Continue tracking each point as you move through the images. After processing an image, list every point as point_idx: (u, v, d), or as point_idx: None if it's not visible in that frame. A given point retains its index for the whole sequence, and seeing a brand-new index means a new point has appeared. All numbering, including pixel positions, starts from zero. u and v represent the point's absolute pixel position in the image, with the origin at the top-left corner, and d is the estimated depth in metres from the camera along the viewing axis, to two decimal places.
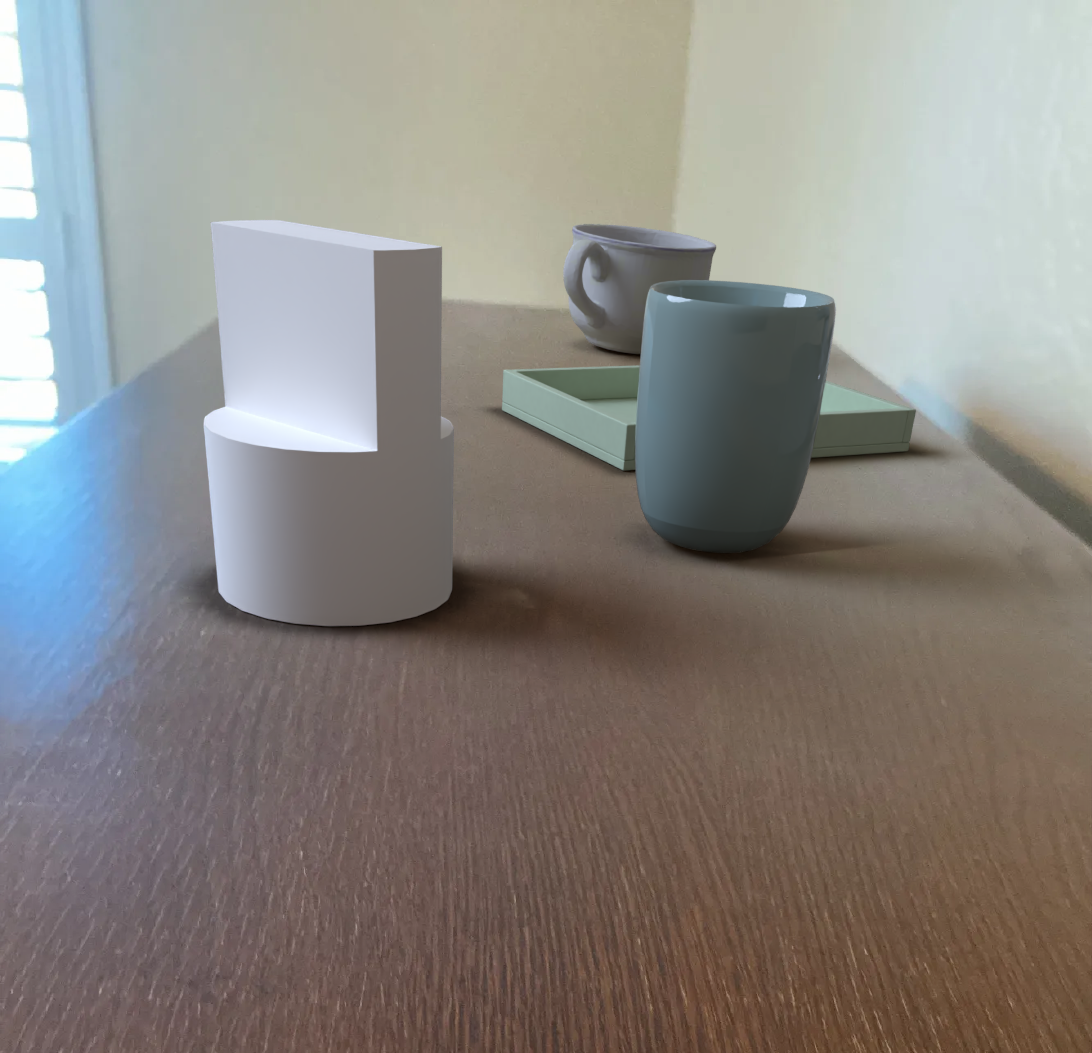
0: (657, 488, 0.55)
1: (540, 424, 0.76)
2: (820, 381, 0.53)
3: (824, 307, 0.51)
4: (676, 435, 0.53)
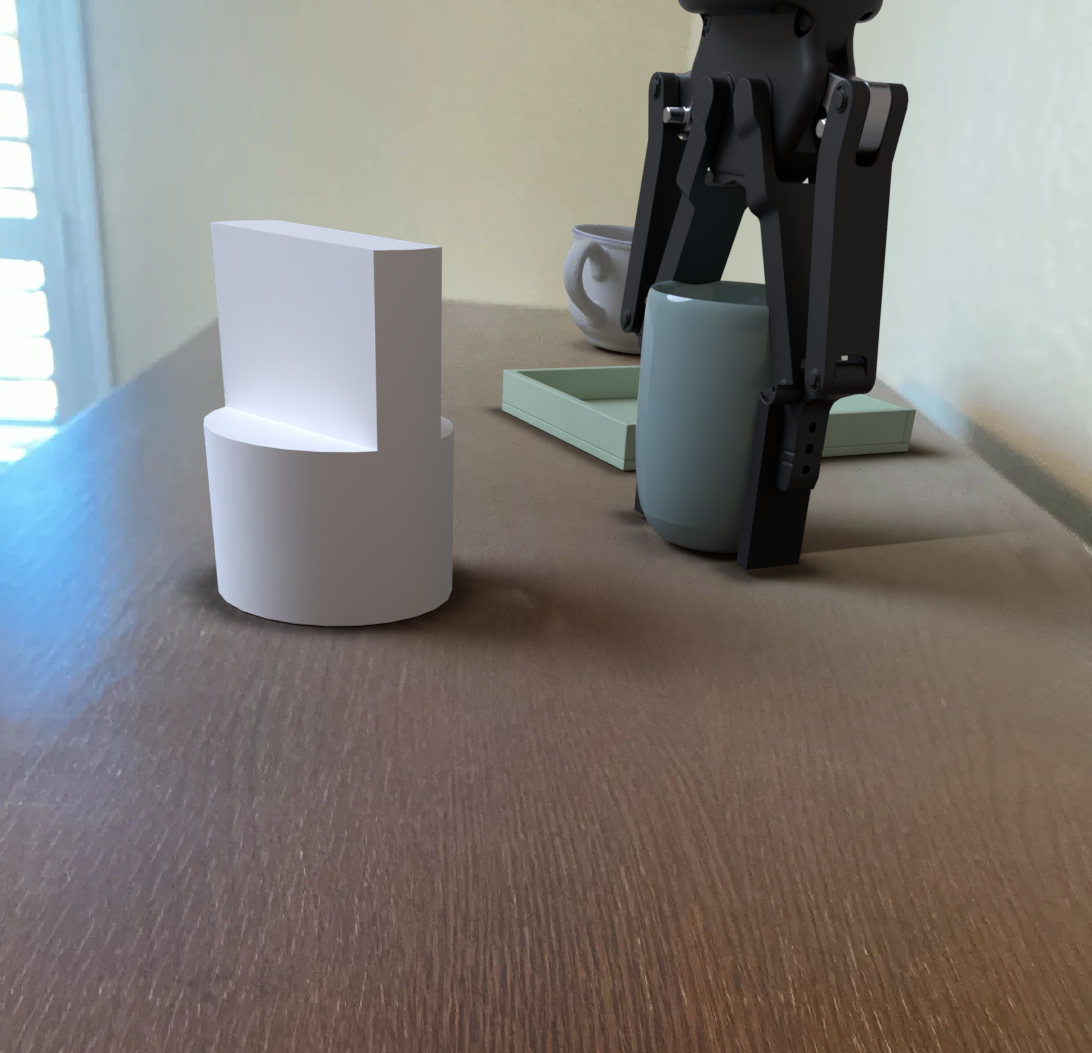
0: (658, 488, 0.55)
1: (540, 424, 0.76)
2: None
3: None
4: (676, 434, 0.53)
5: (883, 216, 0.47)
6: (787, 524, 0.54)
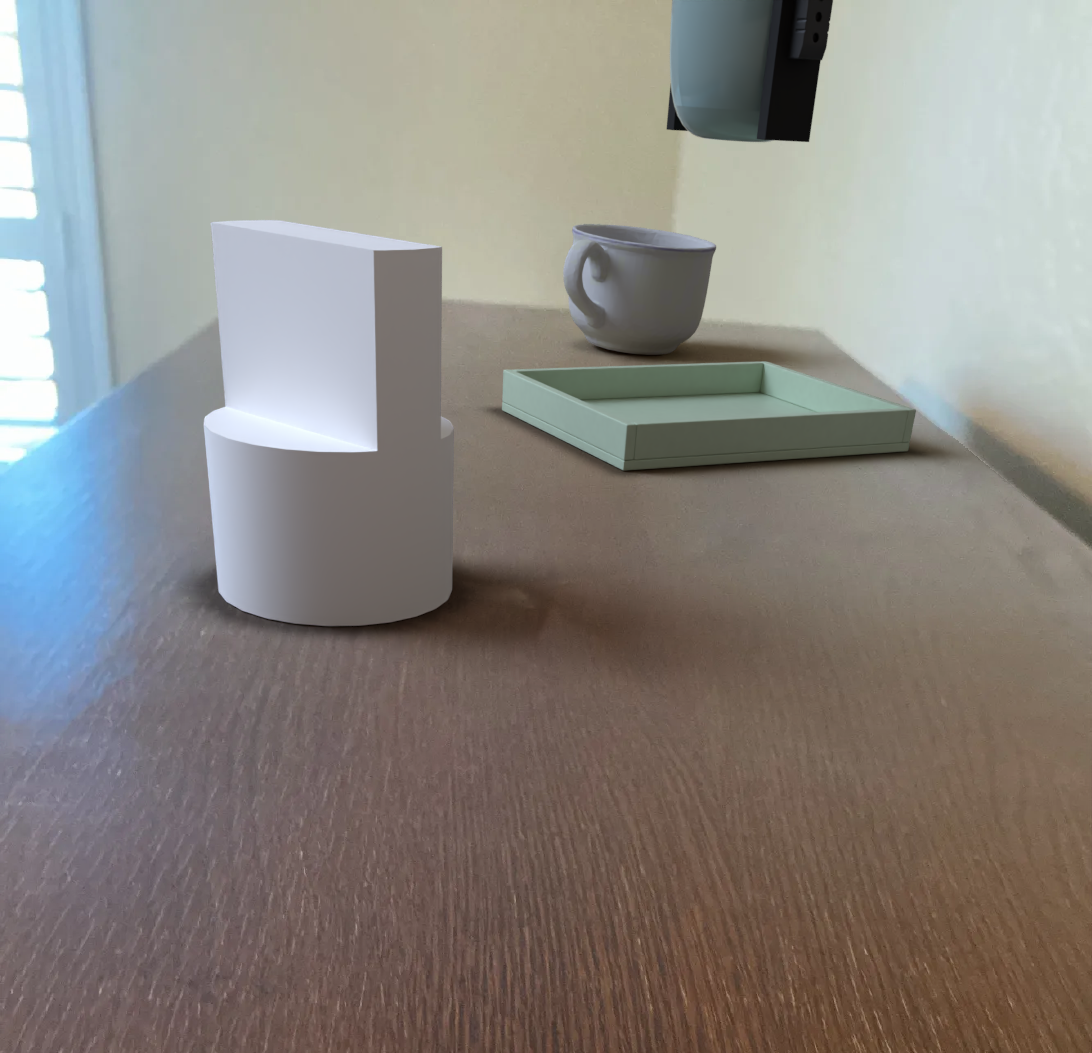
0: (689, 73, 0.65)
1: (540, 424, 0.76)
2: None
3: None
4: (706, 16, 0.63)
5: None
6: (799, 99, 0.65)
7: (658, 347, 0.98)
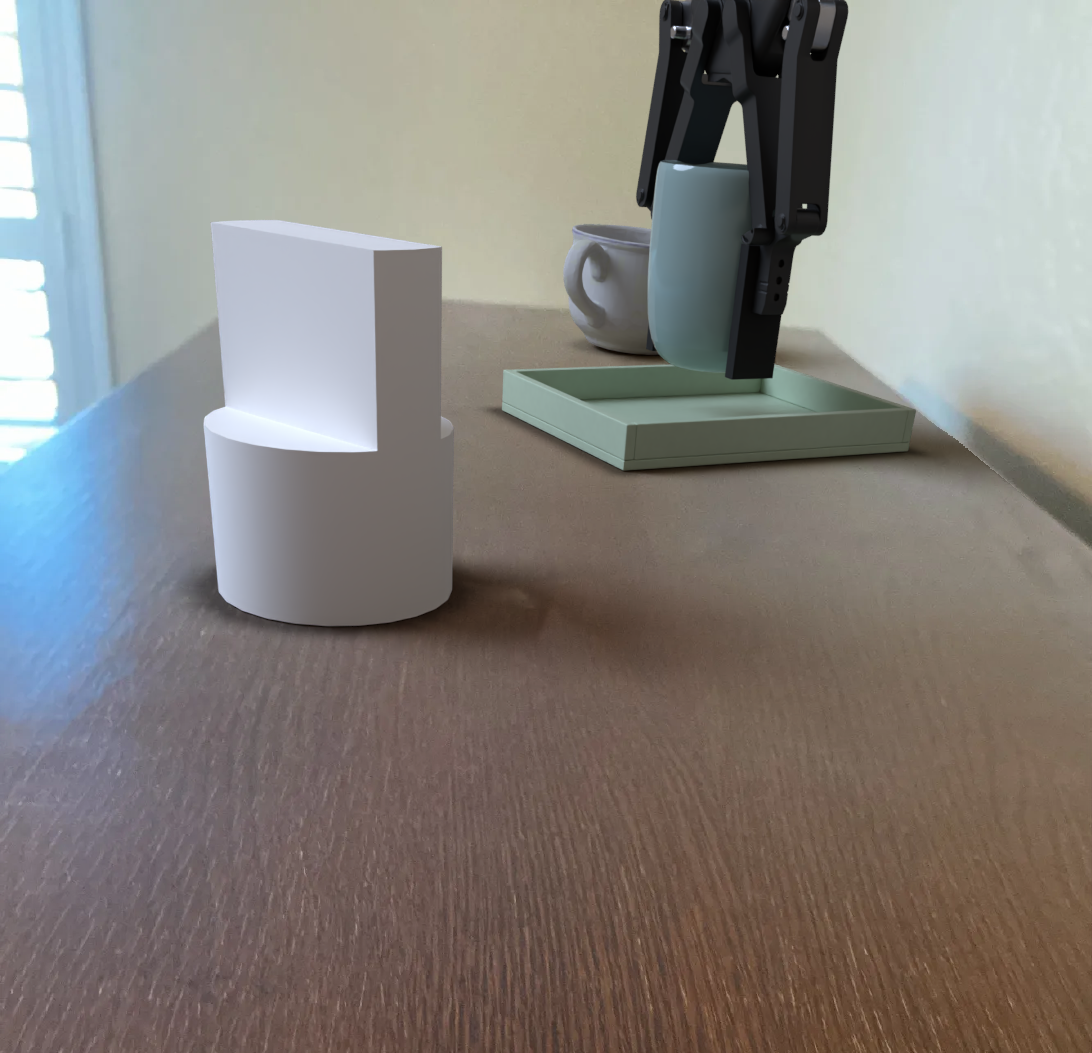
0: (664, 318, 0.72)
1: (540, 424, 0.76)
2: None
3: None
4: (679, 273, 0.71)
5: (831, 98, 0.64)
6: (763, 344, 0.72)
7: None
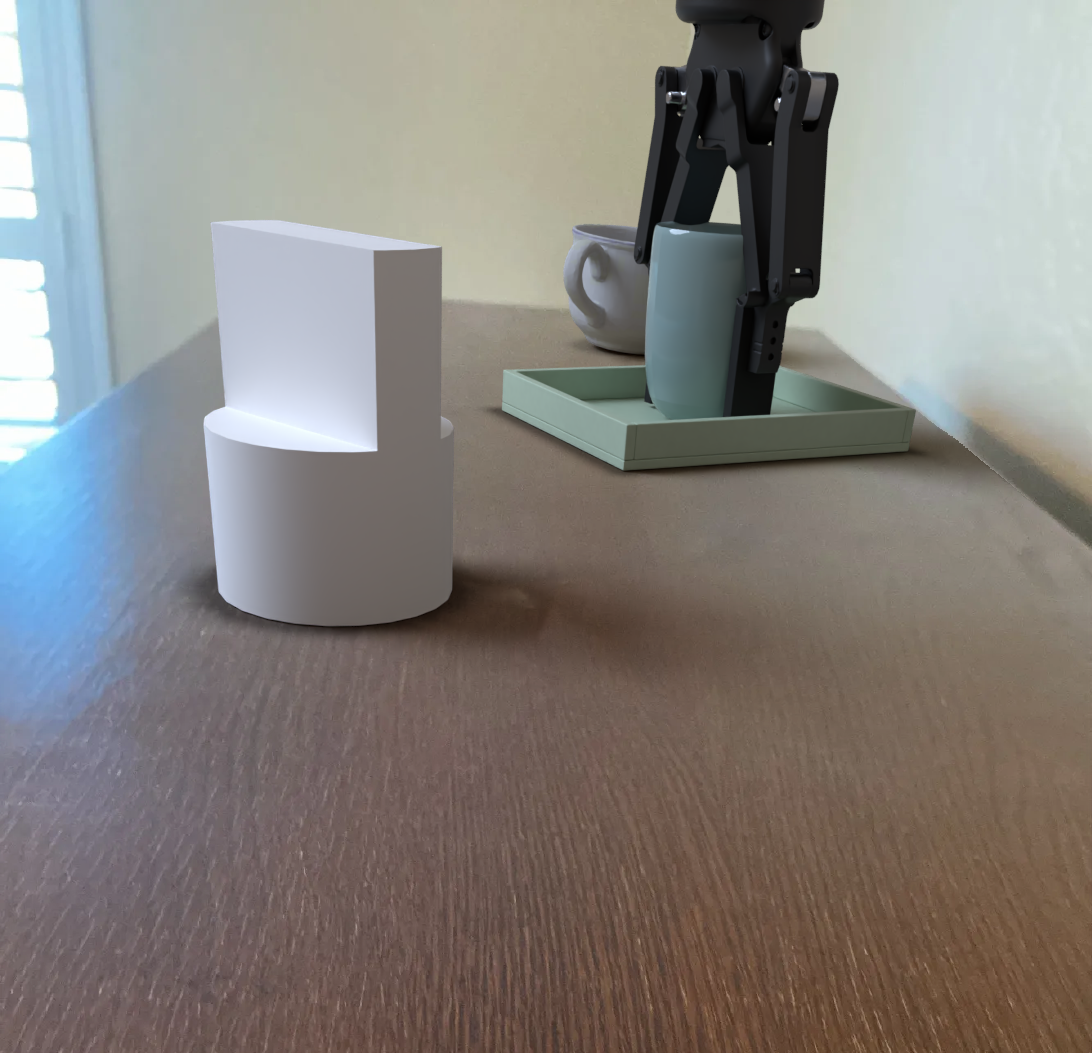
0: (662, 375, 0.74)
1: (540, 424, 0.76)
2: None
3: None
4: (675, 333, 0.72)
5: (823, 167, 0.66)
6: (758, 401, 0.73)
7: None
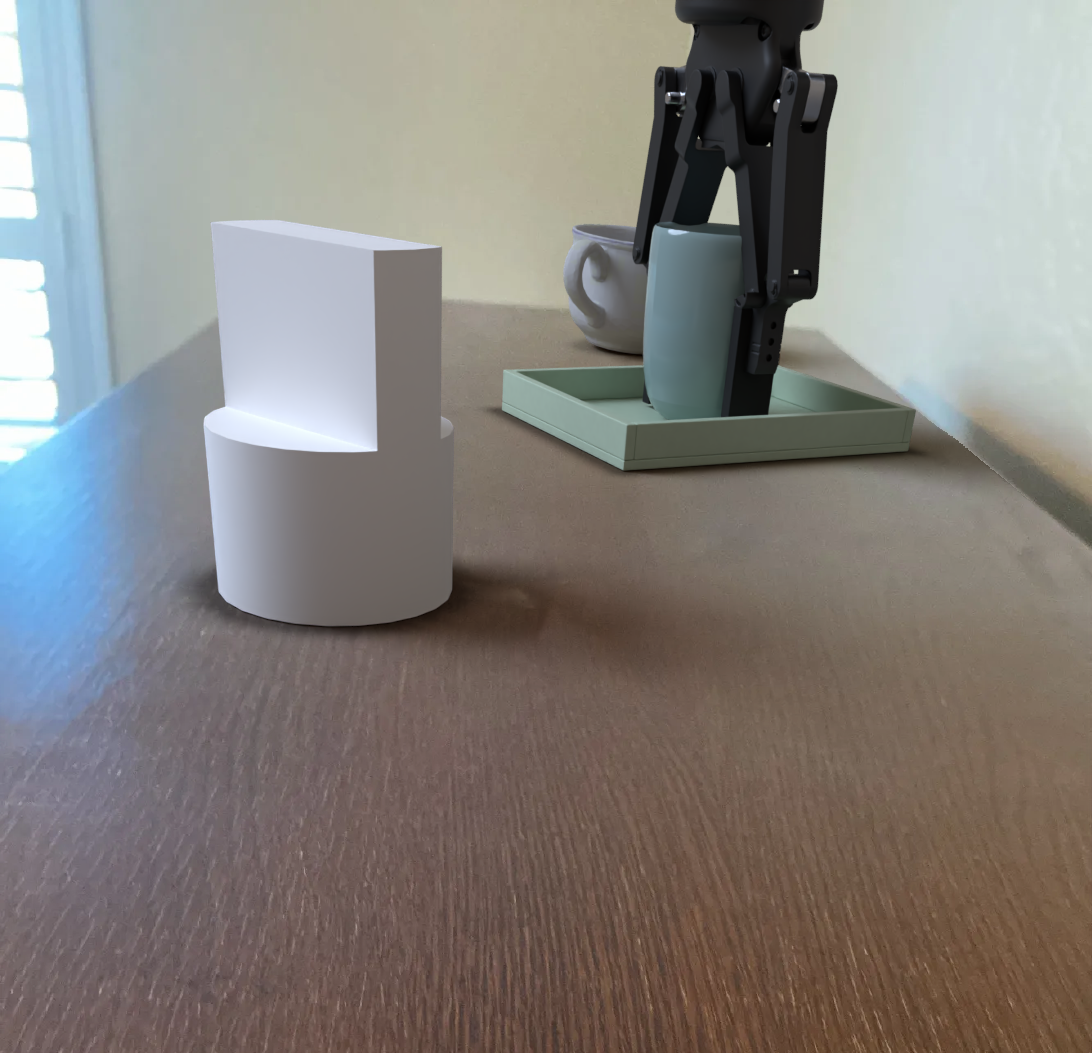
0: (660, 376, 0.74)
1: (540, 424, 0.76)
2: None
3: None
4: (674, 333, 0.72)
5: (821, 169, 0.66)
6: (756, 401, 0.73)
7: None
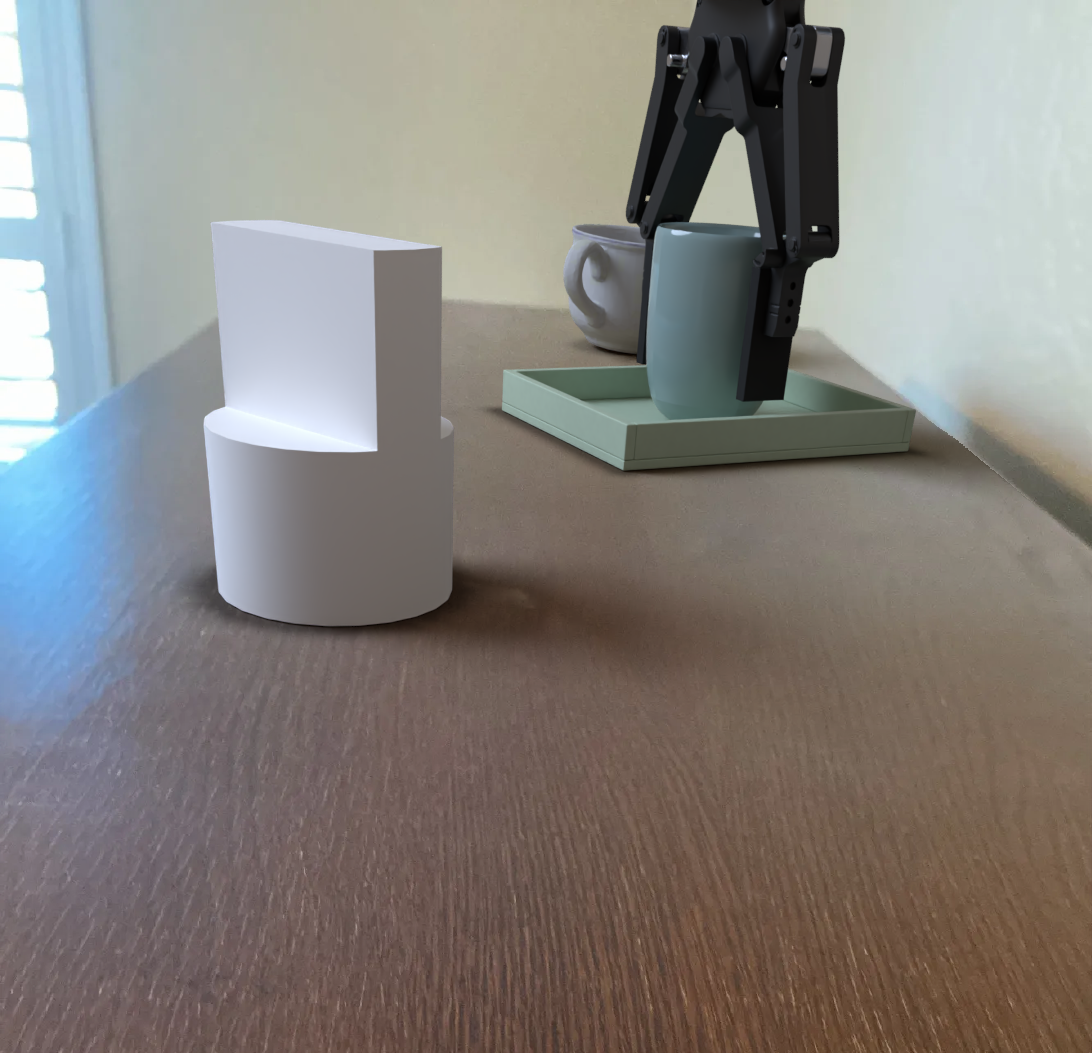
0: (662, 376, 0.74)
1: (540, 424, 0.76)
2: None
3: (784, 238, 0.70)
4: (676, 334, 0.72)
5: (834, 123, 0.64)
6: (774, 366, 0.71)
7: None
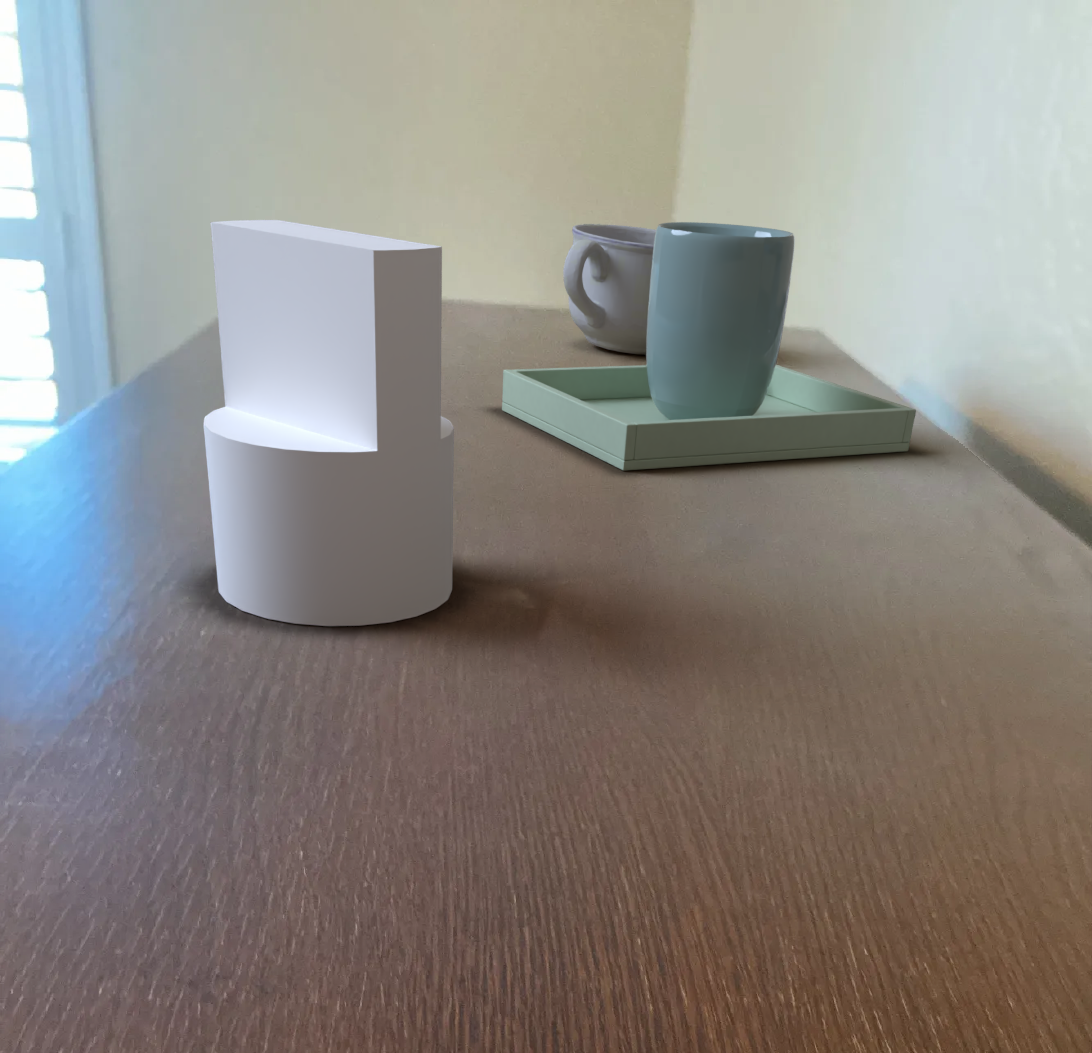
0: (662, 376, 0.74)
1: (540, 424, 0.76)
2: (783, 294, 0.72)
3: (785, 238, 0.70)
4: (676, 334, 0.72)
5: None
6: None
7: None
